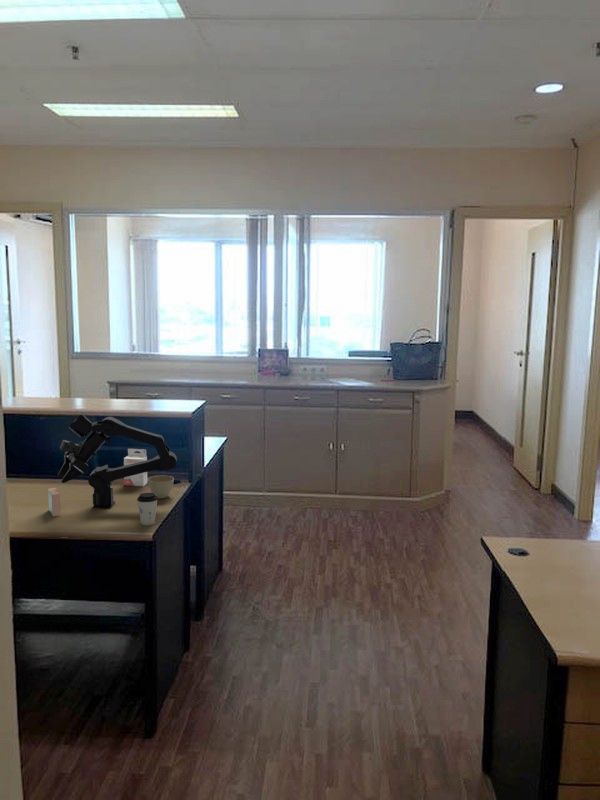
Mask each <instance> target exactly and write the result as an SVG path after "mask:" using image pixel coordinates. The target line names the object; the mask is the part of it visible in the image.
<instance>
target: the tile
mask: <svg viewBox="0 0 600 800" xmlns="http://www.w3.org/2000/svg"><path fill="white" fill-rule="evenodd" d="M47 489H48V490H47V492H48V493H47V495H48V497H47V498H48V510H49V512H50V514H51V515H52V517H61V516H62V513H61V511H62V510H61V494H60V491H58V488H56V487H54V488H53V487H52V488H47Z"/></svg>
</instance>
